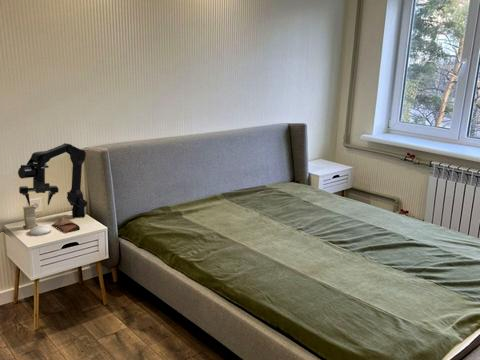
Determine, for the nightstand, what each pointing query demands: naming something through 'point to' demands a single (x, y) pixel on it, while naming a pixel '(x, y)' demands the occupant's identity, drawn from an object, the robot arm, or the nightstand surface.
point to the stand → (40, 230)
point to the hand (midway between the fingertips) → (38, 205)
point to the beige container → (29, 217)
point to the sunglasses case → (66, 225)
